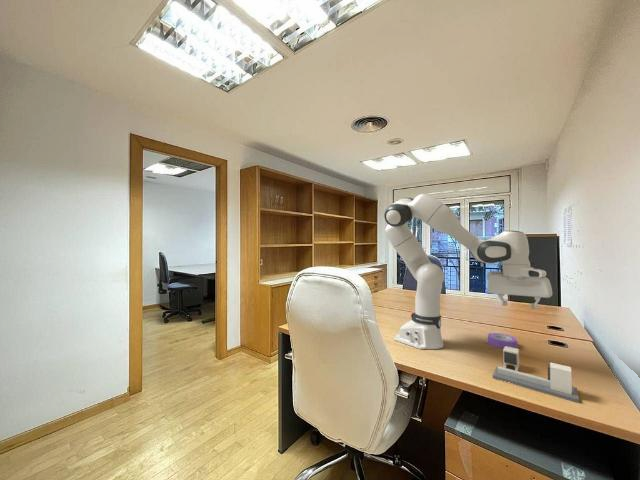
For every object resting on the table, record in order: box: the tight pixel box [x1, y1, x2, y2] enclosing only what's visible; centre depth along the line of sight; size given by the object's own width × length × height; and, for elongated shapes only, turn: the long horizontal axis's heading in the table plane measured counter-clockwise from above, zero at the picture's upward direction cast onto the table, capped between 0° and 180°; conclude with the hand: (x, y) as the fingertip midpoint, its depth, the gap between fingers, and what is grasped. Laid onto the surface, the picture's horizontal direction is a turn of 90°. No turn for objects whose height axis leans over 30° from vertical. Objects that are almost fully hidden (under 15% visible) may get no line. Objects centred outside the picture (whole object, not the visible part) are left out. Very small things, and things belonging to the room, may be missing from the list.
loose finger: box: [502, 346, 520, 372], centre depth 101 cm, size 6×4×7 cm
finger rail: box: [492, 361, 580, 404], centre depth 90 cm, size 22×9×8 cm, turn 48°
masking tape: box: [487, 332, 518, 350], centre depth 125 cm, size 12×12×4 cm
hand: (519, 306), depth 102 cm, fingers open, 8 cm apart
